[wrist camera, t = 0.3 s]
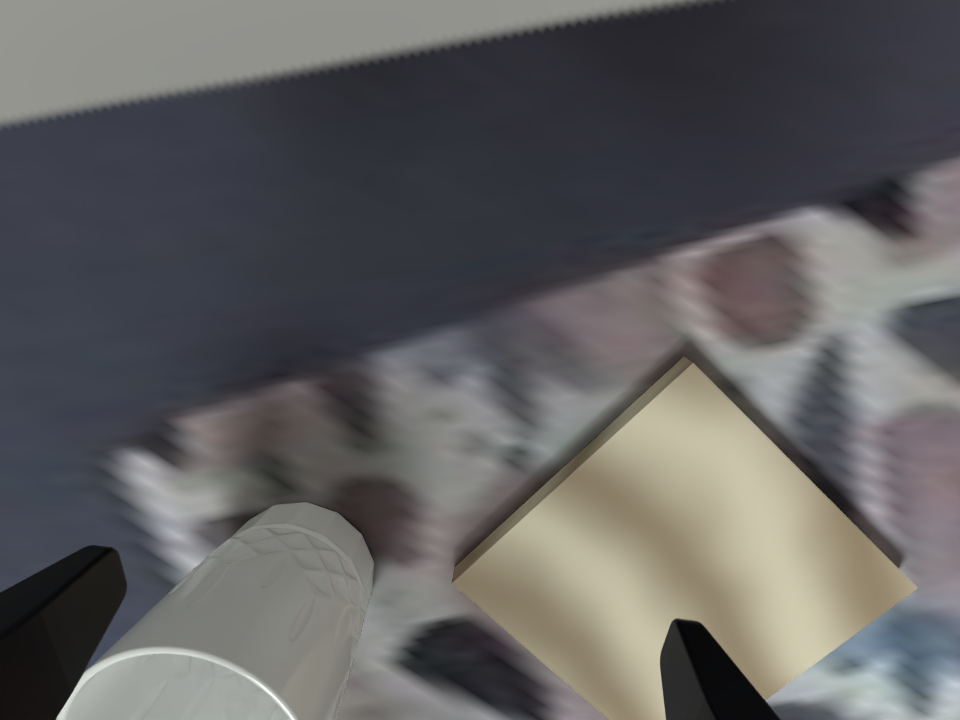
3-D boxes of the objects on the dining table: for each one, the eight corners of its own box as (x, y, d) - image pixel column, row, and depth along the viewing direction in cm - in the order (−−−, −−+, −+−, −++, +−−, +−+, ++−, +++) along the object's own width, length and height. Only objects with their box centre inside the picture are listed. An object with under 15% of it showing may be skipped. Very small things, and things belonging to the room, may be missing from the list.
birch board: (661, 748, 27) (667, 771, 26) (454, 567, 26) (451, 583, 24) (898, 571, 25) (917, 588, 23) (683, 356, 23) (693, 362, 22)
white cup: (269, 457, 25) (115, 599, 15) (418, 545, 26) (362, 736, 16) (196, 585, 27) (15, 788, 17) (337, 665, 27) (242, 905, 17)
